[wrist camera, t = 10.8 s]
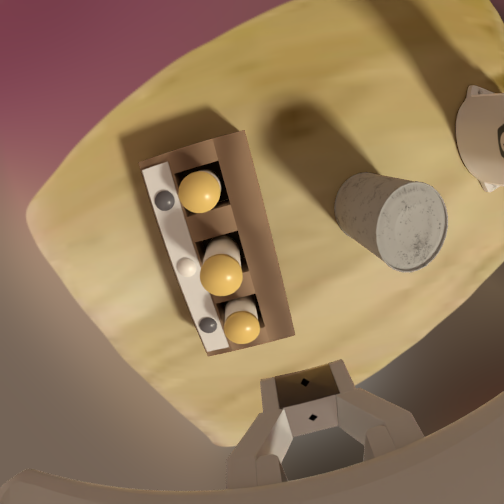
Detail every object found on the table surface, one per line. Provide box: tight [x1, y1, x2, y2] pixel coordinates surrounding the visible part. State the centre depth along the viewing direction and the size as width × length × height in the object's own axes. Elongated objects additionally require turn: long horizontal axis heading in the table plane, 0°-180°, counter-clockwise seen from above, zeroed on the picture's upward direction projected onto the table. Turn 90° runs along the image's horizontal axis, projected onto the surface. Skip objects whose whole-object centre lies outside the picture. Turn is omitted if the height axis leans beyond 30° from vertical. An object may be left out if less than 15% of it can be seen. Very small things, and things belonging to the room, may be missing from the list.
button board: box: [138, 130, 295, 356], centre depth 36 cm, size 12×26×5 cm, turn 14°
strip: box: [142, 162, 229, 352], centre depth 34 cm, size 3×24×1 cm, turn 14°
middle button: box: [200, 235, 243, 296], centre depth 32 cm, size 4×4×8 cm
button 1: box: [179, 169, 222, 213], centre depth 32 cm, size 4×4×8 cm
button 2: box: [224, 294, 260, 344], centre depth 37 cm, size 4×4×8 cm
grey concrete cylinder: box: [334, 172, 448, 272], centre depth 33 cm, size 10×10×12 cm
